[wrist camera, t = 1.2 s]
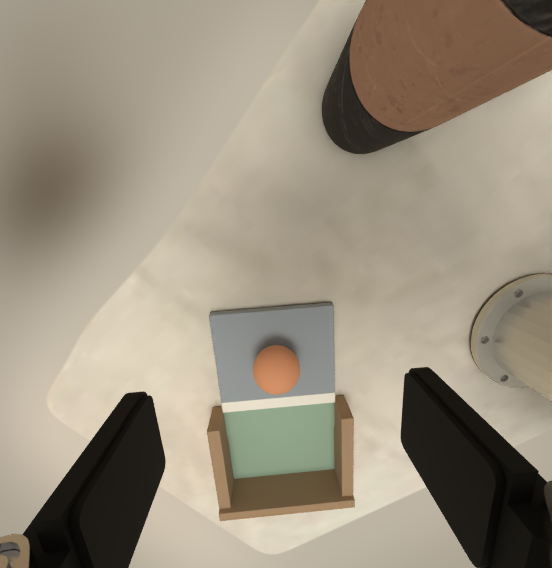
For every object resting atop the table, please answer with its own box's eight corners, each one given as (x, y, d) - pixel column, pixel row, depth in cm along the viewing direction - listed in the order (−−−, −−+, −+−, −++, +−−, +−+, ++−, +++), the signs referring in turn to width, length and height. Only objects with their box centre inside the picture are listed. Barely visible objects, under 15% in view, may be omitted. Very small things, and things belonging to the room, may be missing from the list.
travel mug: (326, 166, 25) (561, 17, 5) (310, 67, 23) (593, -756, 3) (411, 146, 25) (963, -80, 5) (403, 45, 22) (1252, -938, 3)
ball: (296, 335, 28) (302, 358, 23) (298, 374, 29) (304, 403, 25) (251, 339, 27) (249, 363, 23) (255, 378, 29) (254, 407, 24)
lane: (342, 301, 28) (355, 316, 24) (343, 473, 34) (354, 507, 30) (198, 313, 28) (188, 330, 24) (224, 485, 33) (220, 521, 30)
